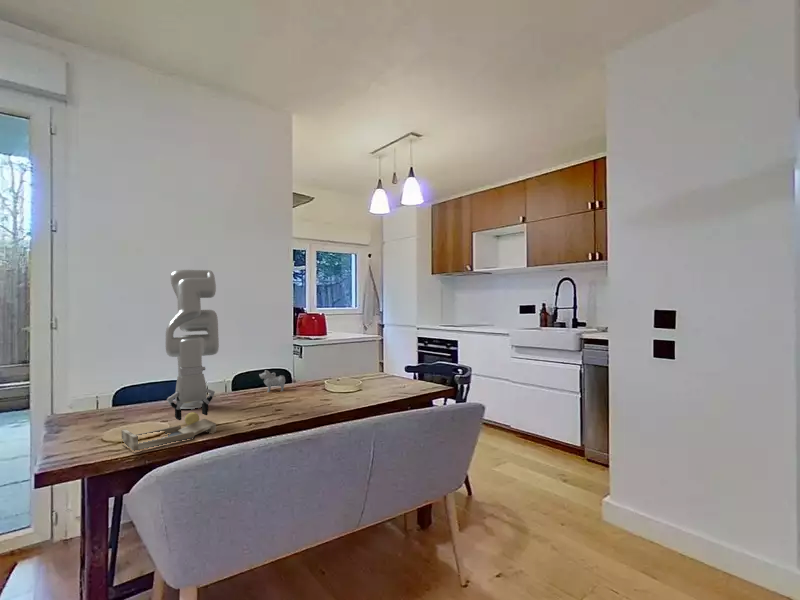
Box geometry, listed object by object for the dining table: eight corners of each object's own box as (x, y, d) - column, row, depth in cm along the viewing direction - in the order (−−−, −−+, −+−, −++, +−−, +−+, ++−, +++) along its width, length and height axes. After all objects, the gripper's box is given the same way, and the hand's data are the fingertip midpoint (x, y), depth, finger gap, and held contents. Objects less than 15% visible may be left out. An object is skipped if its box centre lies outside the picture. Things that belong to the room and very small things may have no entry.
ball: (182, 425, 175) (182, 412, 175) (196, 422, 179) (195, 410, 179) (188, 428, 172) (188, 414, 172) (201, 425, 175) (201, 412, 175)
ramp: (205, 427, 172) (204, 418, 172) (216, 432, 166) (216, 423, 166) (177, 433, 165) (177, 424, 165) (187, 439, 159) (187, 429, 159)
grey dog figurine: (260, 390, 237) (259, 369, 237) (285, 389, 239) (285, 368, 239) (258, 392, 232) (258, 371, 232) (285, 391, 234) (284, 370, 234)
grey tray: (121, 445, 154) (121, 430, 154) (179, 432, 167) (179, 418, 167) (134, 453, 145) (133, 437, 145) (194, 439, 159) (193, 424, 159)
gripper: (209, 367, 184) (210, 411, 184) (163, 373, 171) (164, 420, 171) (218, 369, 179) (219, 414, 178) (170, 375, 166) (172, 423, 166)
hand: (192, 416), depth 175 cm, fingers open, 9 cm apart
